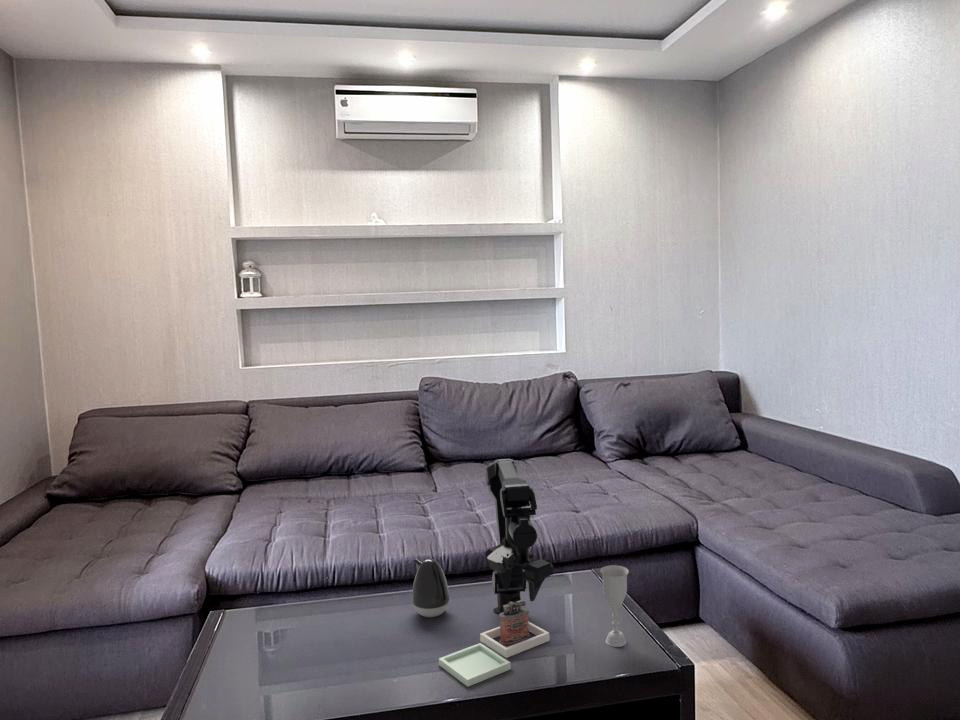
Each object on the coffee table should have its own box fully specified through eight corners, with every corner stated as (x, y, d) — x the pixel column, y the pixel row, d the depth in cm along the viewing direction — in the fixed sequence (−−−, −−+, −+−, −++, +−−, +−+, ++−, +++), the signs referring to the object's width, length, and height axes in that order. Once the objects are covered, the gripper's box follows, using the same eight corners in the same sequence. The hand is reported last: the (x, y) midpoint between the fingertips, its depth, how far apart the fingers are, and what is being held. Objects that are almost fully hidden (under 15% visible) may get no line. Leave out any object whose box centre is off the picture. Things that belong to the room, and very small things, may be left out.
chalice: (630, 650, 169) (628, 577, 168) (601, 648, 171) (599, 576, 169) (629, 635, 177) (628, 565, 175) (602, 634, 178) (600, 564, 176)
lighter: (504, 648, 172) (502, 608, 172) (497, 642, 176) (496, 603, 175) (532, 639, 176) (531, 601, 175) (525, 634, 179) (524, 596, 178)
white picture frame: (480, 641, 176) (480, 633, 176) (522, 625, 184) (522, 618, 184) (506, 658, 168) (505, 649, 167) (549, 640, 175) (549, 632, 175)
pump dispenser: (428, 602, 200) (426, 550, 199) (457, 610, 194) (455, 556, 193) (404, 615, 192) (401, 561, 191) (433, 625, 186) (431, 569, 185)
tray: (438, 665, 165) (438, 658, 165) (480, 649, 172) (480, 642, 172) (467, 686, 156) (467, 679, 156) (510, 669, 163) (510, 662, 162)
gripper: (467, 532, 175) (470, 593, 176) (520, 552, 161) (522, 618, 162) (501, 522, 182) (502, 580, 184) (554, 540, 168) (555, 603, 169)
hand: (519, 595), depth 174 cm, fingers open, 9 cm apart
